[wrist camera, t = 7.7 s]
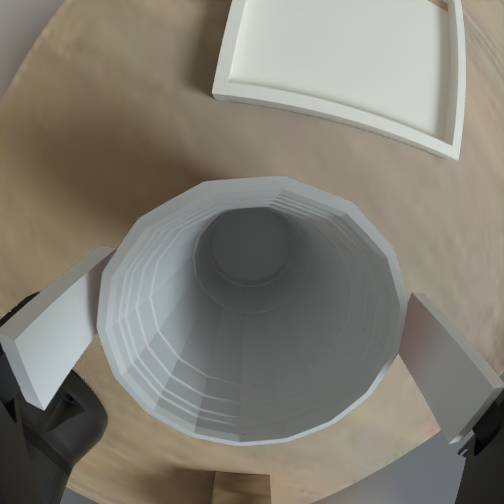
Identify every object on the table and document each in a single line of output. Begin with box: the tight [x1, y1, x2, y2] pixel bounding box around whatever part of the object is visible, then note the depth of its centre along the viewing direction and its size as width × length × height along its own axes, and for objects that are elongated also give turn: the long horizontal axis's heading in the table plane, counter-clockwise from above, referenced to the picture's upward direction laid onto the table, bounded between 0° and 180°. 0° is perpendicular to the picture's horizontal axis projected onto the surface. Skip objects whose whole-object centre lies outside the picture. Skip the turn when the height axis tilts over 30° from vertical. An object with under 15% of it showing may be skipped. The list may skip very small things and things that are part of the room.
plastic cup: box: [97, 176, 408, 446], centre depth 14 cm, size 11×11×12 cm
